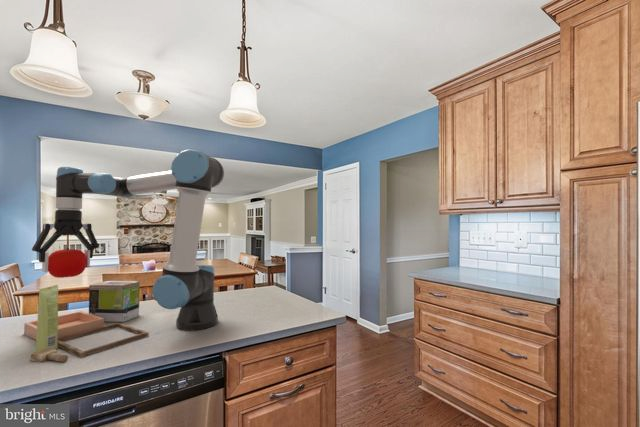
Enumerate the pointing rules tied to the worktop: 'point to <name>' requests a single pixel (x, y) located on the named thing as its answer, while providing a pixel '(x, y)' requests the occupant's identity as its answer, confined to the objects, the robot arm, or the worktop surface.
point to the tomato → (66, 263)
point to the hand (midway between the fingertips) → (66, 269)
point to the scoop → (48, 355)
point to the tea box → (114, 300)
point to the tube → (47, 319)
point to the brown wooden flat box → (68, 324)
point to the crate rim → (103, 347)
